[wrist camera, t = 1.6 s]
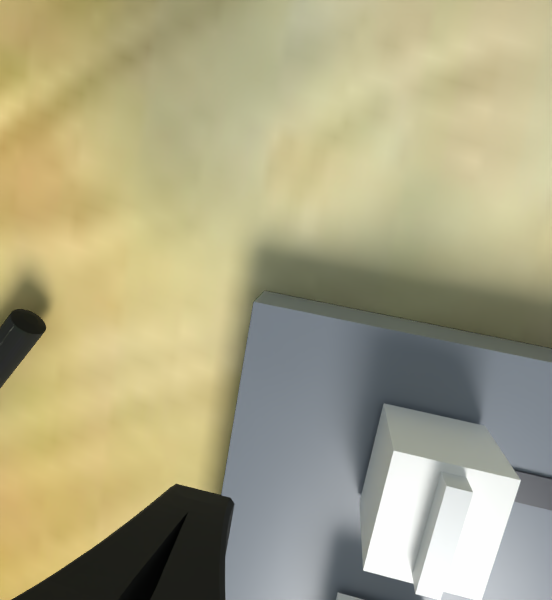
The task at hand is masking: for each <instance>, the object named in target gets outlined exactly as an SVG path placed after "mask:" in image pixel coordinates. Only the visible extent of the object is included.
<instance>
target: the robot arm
mask: <svg viewBox="0 0 552 600" xmlns="http://www.w3.org/2000/svg"><path fill="white" fill-rule="evenodd" d="M234 505H235V504H234V502H233V501H232V499H231V498H230V497H226V496H222V495H218V494H214V493H210V492H206V491H202V490H198V489H194V488H191V487H187V486H183V485H179V484H175V485H174V486H172V487H170V488H169V489H168V490H167V491H166V492H164V493H163V494H162V495H161V496H160V497H158V498H157V499H156V500H155V501H154V502H152V503H151V504H150V505H149V506H147V507H146V508H145V509H144V510H142V511H141V512H140V513H139V514H137V515H136V516H135V517H134V518H132V519H131V520H130V521H128V522H127V523H126V524H124V525H123V526H122V527H120V528H119V529H118V530H116V531H115V532H114V533H112V534H111V535H110V536H108V537H107V538H106V539H104V540H103V541H102V542H100V543H99V544H97V545H96V546H95V547H93V548H92V549H90V550H89V551H87V552H86V553H84V554H83V555H81V556H80V557H78V558H77V559H76V560H74V561H73V562H71V563H70V564H68V565H67V566H65V567H64V568H62V569H61V570H59V571H58V572H56V573H55V574H53V575H52V576H50V577H48V578H47V579H45V580H44V581H42V582H40V583H39V584H37V585H35V586H34V587H32V588H30V589H29V590H27V591H25V592H24V593H22V594H20V595H19V596H17V597H15V598H13V599H12V600H226V597H225V556H226V550H227V545H228V539H229V533H230V528H231V522H232V516H233V510H234Z"/></svg>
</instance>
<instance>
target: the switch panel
mask: <svg viewBox="0 0 552 600" xmlns="http://www.w3.org/2000/svg"><path fill="white" fill-rule="evenodd" d="M384 403H385V404H389V405H394V406H398V407H403V408H407V409H412V410H416V411H421V412H425V413H430V414H434V415H439V416H443V417H448V418H452V419H457V420H461V421H466V422H470V423H475V424H479V425H484V426H485V427H486V429H487V430H488V432H489V433H490V435H491V436H492V438H493V439H494V441H495V442H496V444H497V445H498V447H499V448H500V450H501V451H502V453H503V454H504V456H505V457H506V459H507V460H508V462H509V463H510V465H511V466H512V468H513V469H514V471H515V472H516V474H517V475H518V477H519V478H520V480H521V482H520V485H519V488H518V491H517V494H516V497H515V500H514V503H513V506H512V509H511V512H510V515H509V518H508V521H507V524H506V527H505V530H504V534H503V537H502V540H501V543H500V546H499V549H498V552H497V555H496V558H495V561H494V564H493V567H492V570H491V573H490V576H489V579H488V582H487V585H486V588H485V591H484V594H483V598H482V600H552V348H547V347H542V346H537V345H532V344H527V343H522V342H517V341H512V340H507V339H502V338H497V337H492V336H487V335H482V334H477V333H472V332H467V331H462V330H457V329H452V328H447V327H442V326H437V325H432V324H427V323H422V322H417V321H412V320H407V319H402V318H397V317H393V316H388V315H383V314H378V313H373V312H368V311H363V310H358V309H353V308H348V307H343V306H338V305H333V304H328V303H323V302H318V301H313V300H308V299H303V298H298V297H293V296H288V295H283V294H278V293H273V292H268V291H264V292H263V293H262V294H261V295H260V296H259V297H258V298H257V299H256V300H255V301H254V302H253V308H252V314H251V320H250V326H249V332H248V338H247V344H246V350H245V356H244V362H243V368H242V374H241V380H240V386H239V392H238V398H237V404H236V410H235V416H234V422H233V428H232V434H231V440H230V446H229V452H228V458H227V464H226V470H225V476H224V482H223V488H222V494H221V495H222V496H226V497H230V498H231V499H232V501H233V502H234V504H235V505H234V510H233V516H232V522H231V528H230V533H229V539H228V545H227V550H226V556H225V597H226V600H336V597H337V593H341V594H345V595H349V596H352V597H356V598H360V599H364V600H436V599H433V598H429V597H425V596H421V595H418V594H415V589H414V584H413V583H409V582H405V581H401V580H398V579H394V578H390V577H386V576H383V575H379V574H375V573H371V572H367V571H364V570H363V559H362V541H361V523H360V504H359V502H360V498H361V494H362V490H363V486H364V482H365V478H366V474H367V470H368V465H369V461H370V457H371V453H372V449H373V445H374V441H375V437H376V433H377V428H378V424H379V420H380V416H381V412H382V408H383V404H384ZM441 600H473V599H469V598H466V597H462V596H458V595H454V594H451V593H447V592H443V594H442V597H441Z"/></svg>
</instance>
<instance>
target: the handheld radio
mask: <svg viewBox="0 0 552 600" xmlns="http://www.w3.org/2000/svg"><path fill="white" fill-rule="evenodd" d="M45 330H46V325H45V323H44V321H43V320H42V319H41V318H40V317H39V316H38V315H36V314H34V313H33V312H30V311H27V310H23V309H17V310H14V311H12V313H11V314H10V315H9V317H8V318H7V319H6V321H5V322H4V323H3V325H2V326H1V327H0V388H1V387H2V385H3V384H4V383H5V382H6V380H7V379H8V378H9V376H10V375H11V374H12V373H13V371H14V370H15V369H16V368H17V366H18V365H19V364H20V362H21V361H22V360H23V359H24V357H25V356H26V355H27V353H28V352H29V351H30V350H31V348H32V347H33V346H34V345H35V343H36V342H37V341H38V339H39V338H40V337H41V336H42V334H43V333H44V332H45Z"/></svg>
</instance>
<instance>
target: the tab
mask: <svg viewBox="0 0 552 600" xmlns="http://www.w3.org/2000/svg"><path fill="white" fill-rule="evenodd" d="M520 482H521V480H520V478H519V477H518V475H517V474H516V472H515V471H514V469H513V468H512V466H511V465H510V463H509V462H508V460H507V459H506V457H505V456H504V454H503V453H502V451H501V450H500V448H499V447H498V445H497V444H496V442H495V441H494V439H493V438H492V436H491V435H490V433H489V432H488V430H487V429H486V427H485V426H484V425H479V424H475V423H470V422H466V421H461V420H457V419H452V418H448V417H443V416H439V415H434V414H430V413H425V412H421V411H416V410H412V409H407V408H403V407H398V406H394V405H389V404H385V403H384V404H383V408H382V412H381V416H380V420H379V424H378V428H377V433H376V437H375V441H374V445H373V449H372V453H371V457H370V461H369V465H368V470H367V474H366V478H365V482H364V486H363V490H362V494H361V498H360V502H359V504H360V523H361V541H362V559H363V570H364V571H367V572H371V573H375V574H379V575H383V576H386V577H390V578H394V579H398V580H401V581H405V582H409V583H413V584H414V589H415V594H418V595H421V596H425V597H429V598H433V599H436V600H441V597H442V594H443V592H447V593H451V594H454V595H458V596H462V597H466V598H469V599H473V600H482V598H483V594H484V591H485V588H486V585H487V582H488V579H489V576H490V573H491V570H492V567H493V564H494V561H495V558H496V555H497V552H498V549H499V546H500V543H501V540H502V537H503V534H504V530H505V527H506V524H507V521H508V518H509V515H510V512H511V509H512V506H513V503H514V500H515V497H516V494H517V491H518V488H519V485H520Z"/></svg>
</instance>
